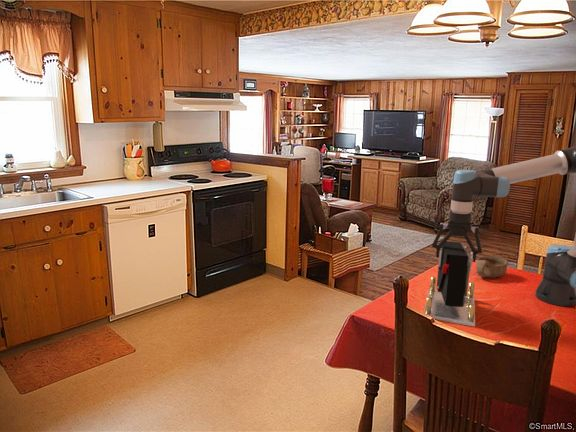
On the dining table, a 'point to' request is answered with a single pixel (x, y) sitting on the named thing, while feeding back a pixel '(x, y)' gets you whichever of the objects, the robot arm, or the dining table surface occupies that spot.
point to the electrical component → (454, 274)
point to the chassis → (450, 307)
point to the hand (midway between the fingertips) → (454, 267)
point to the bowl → (491, 266)
